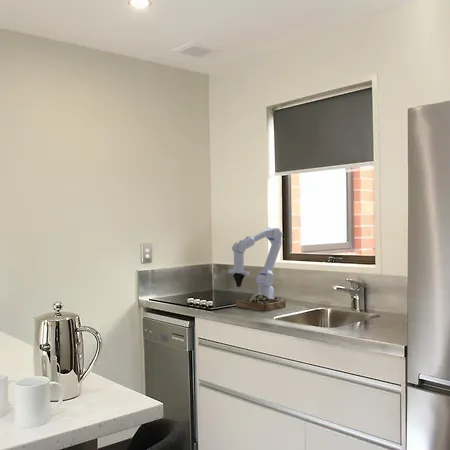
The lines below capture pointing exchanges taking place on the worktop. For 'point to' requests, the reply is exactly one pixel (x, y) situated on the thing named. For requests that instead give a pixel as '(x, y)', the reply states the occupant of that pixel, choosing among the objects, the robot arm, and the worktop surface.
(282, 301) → the wooden tray
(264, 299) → the food container
